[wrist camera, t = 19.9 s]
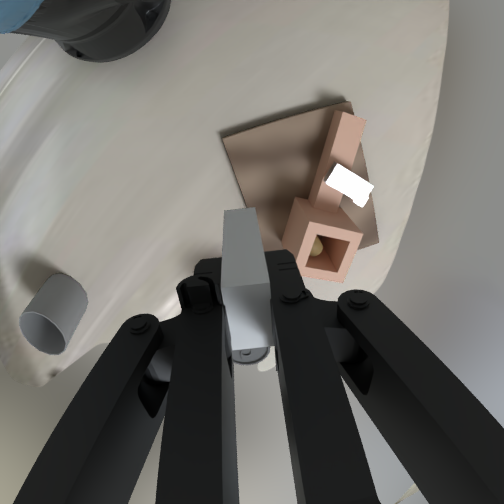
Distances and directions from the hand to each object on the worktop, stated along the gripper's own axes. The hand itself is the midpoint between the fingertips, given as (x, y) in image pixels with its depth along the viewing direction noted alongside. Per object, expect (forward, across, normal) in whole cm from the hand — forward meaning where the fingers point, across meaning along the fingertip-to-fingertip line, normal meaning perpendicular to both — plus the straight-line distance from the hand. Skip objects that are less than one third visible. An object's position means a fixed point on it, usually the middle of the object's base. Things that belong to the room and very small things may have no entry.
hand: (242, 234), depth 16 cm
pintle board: (+24, +9, -6) cm, 27 cm away
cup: (+25, -31, -18) cm, 43 cm away
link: (+23, +11, -5) cm, 26 cm away
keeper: (+24, +12, -4) cm, 27 cm away
